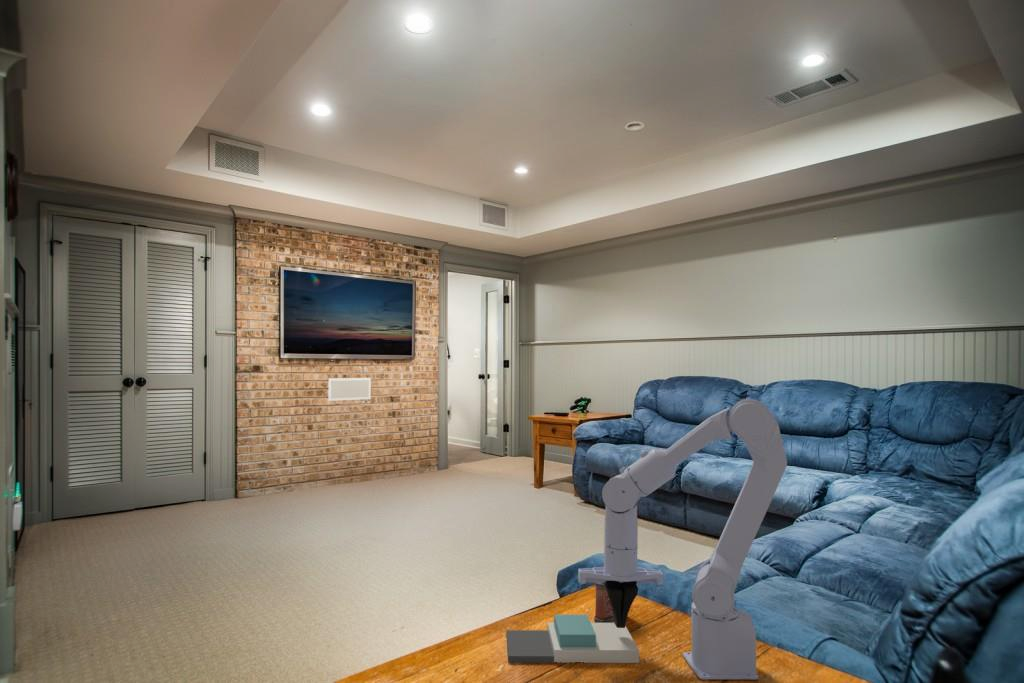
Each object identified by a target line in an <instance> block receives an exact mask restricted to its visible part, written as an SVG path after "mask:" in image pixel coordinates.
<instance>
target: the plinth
mask: <svg viewBox="0 0 1024 683" xmlns="http://www.w3.org/2000/svg"><path fill="white" fill-rule="evenodd" d="M591 625H592V627H593V629H594V632H595V634H596V647H559V643H558V639H557V635H556V632H555V628H554V621H550V622H547V624H546V626H547V627H546V628H547V629H546V630H548V633H549V637H550V641H551V645H552V649H553V653H554V663H555V662H557V663H560V662H561V663H565V664H566V663H570V662H572V664H575V663H574V662H581V663H582V662H584V663H583V664H585V663H586V664H590V662H591V664H594V663H595V664H599V663H600V664H604V663H605V664H607V663H608V664H616V663H617V664H640V649H639V648H638V645H637V644H636V642H635V640H634V638H633V637H632V635H631V633H630V632H629V629H628V628H627V626H626V625H625V628H617V627H616V625H615V623H614V622H613V623H595V622H591ZM557 663H556V664H557ZM561 663H560V664H561ZM581 663H580V664H581Z"/></svg>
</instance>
